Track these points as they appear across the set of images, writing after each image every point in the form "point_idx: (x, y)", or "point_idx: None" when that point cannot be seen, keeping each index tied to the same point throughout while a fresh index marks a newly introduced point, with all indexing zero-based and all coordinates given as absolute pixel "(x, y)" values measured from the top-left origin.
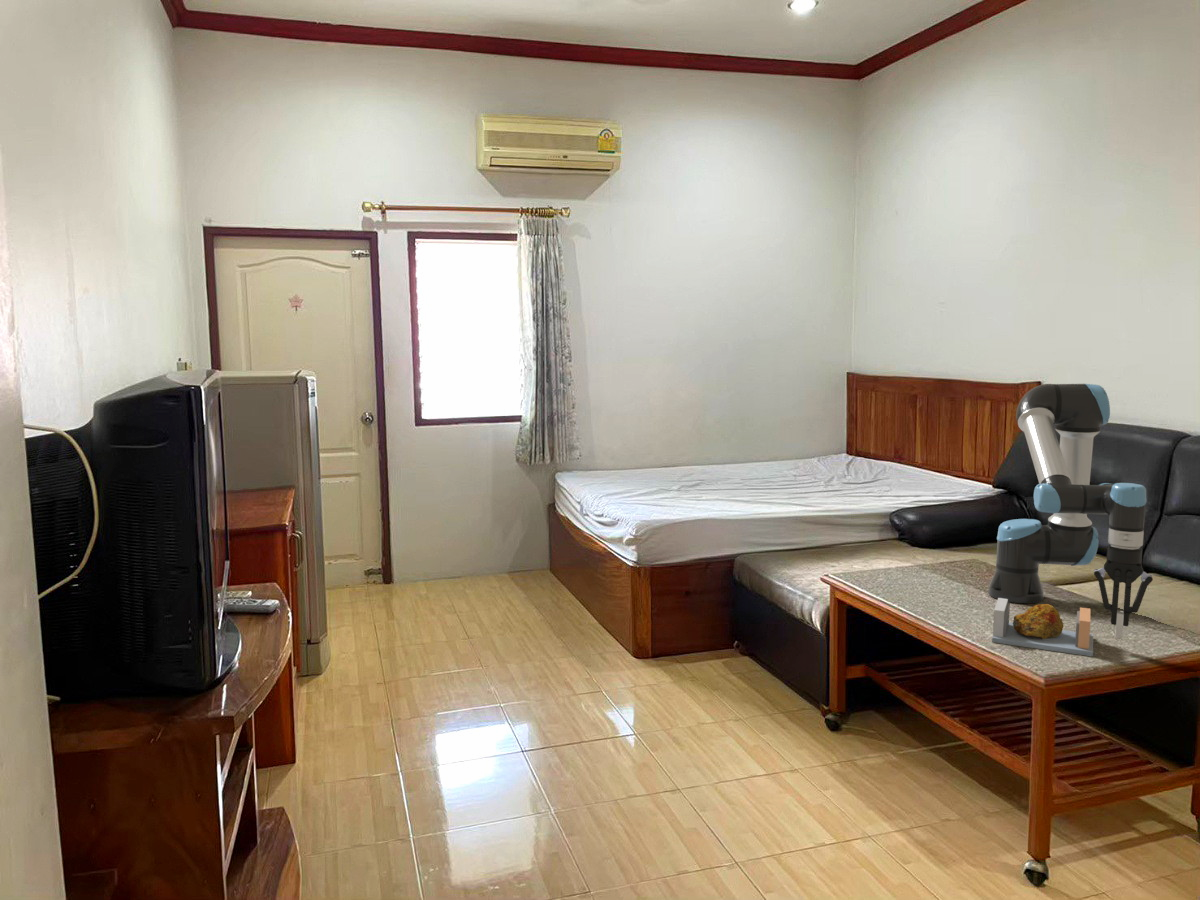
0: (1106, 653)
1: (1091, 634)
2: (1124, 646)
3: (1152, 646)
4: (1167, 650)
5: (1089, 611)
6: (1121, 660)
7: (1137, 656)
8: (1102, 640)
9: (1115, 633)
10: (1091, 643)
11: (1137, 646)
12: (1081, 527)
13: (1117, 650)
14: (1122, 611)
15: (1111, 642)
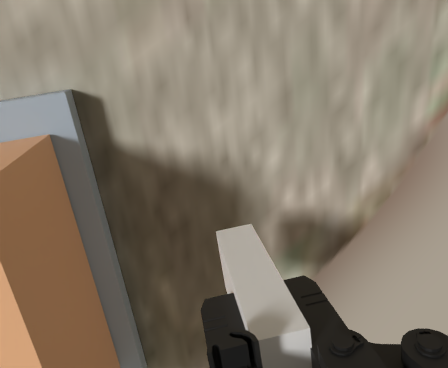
0: (187, 289)
1: (60, 111)
2: (244, 130)
3: (368, 37)
4: (430, 63)
5: (3, 292)
6: None
7: (308, 244)
8: (127, 94)
9: (226, 284)
10: (107, 274)
11: (301, 88)
12: None
13: (223, 217)
14: (301, 333)
15: (176, 101)
